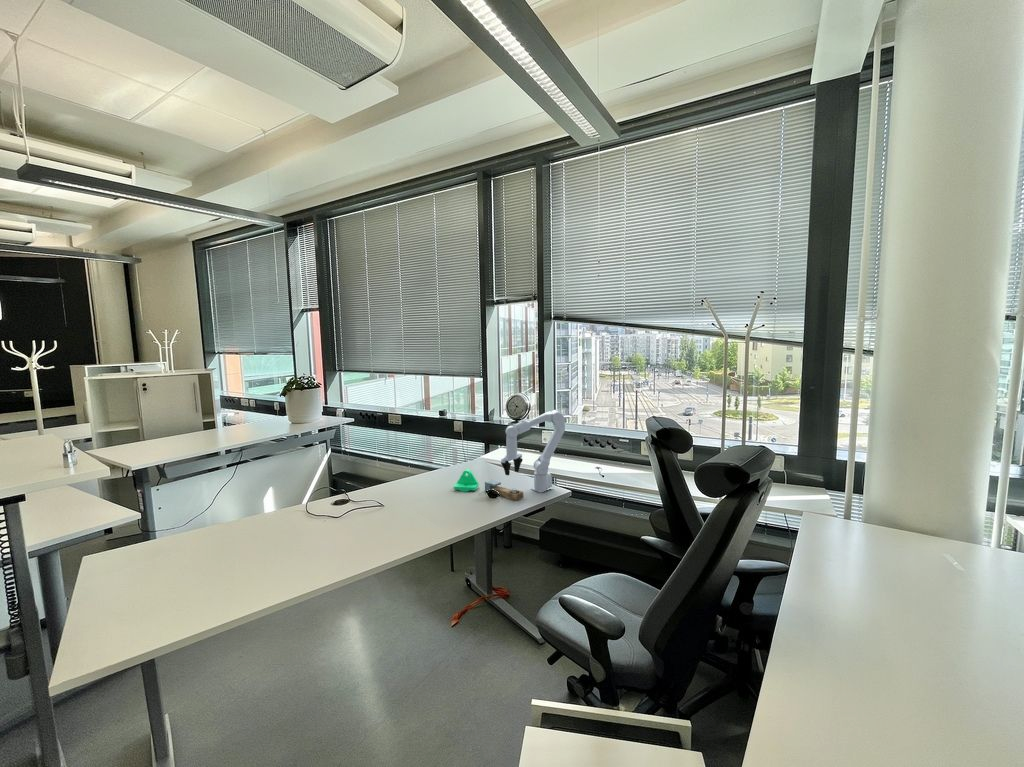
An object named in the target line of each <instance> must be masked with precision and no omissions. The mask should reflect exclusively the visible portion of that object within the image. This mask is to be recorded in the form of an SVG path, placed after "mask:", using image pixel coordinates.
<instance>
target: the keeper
mask: <svg viewBox="0 0 1024 767" xmlns="http://www.w3.org/2000/svg"><path fill="white" fill-rule="evenodd" d="M500 485H502V482H501V481H498V480H494V479H489V480H486V481H484V492H486V491H487V490H489V489H491V488H493V487H495V486H500Z"/></svg>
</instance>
